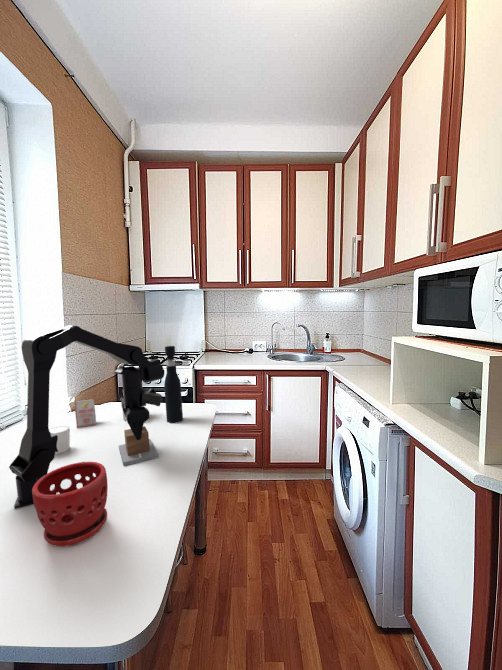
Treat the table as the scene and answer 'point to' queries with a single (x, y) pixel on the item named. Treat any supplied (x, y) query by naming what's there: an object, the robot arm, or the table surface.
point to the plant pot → (71, 503)
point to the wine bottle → (172, 389)
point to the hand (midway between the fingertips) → (136, 434)
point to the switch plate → (137, 457)
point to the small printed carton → (85, 413)
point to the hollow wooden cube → (136, 442)
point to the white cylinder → (62, 438)
